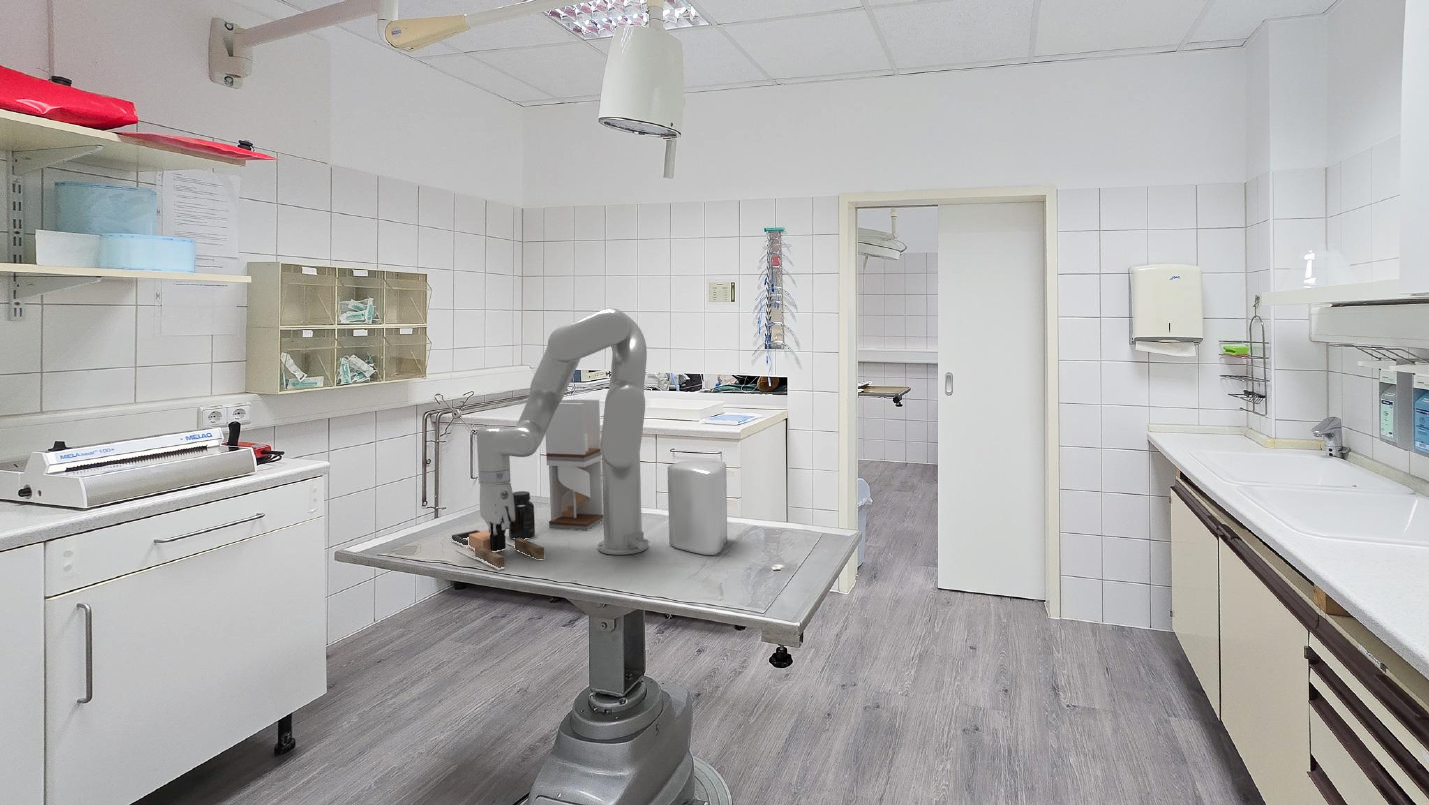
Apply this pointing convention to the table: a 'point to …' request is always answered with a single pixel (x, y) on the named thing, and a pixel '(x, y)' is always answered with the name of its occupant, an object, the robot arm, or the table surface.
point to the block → (481, 540)
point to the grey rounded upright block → (697, 506)
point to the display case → (575, 465)
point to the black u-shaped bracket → (463, 535)
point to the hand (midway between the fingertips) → (497, 549)
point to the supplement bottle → (522, 516)
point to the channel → (520, 545)
